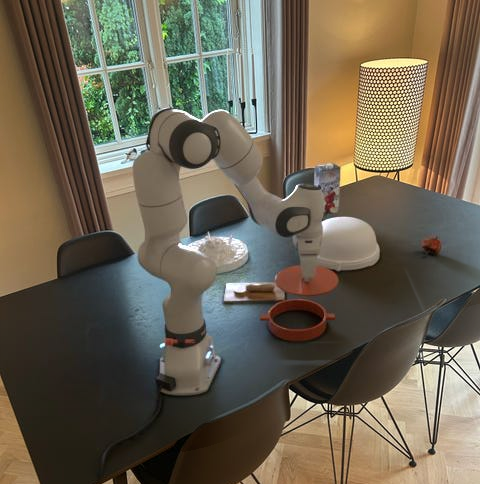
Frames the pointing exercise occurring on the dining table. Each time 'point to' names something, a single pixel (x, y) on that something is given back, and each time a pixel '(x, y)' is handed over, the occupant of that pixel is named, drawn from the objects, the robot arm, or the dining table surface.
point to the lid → (296, 285)
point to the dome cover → (347, 244)
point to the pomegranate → (431, 246)
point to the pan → (297, 305)
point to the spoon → (253, 288)
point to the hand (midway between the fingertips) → (306, 277)
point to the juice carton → (329, 188)
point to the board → (253, 294)
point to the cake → (223, 251)
